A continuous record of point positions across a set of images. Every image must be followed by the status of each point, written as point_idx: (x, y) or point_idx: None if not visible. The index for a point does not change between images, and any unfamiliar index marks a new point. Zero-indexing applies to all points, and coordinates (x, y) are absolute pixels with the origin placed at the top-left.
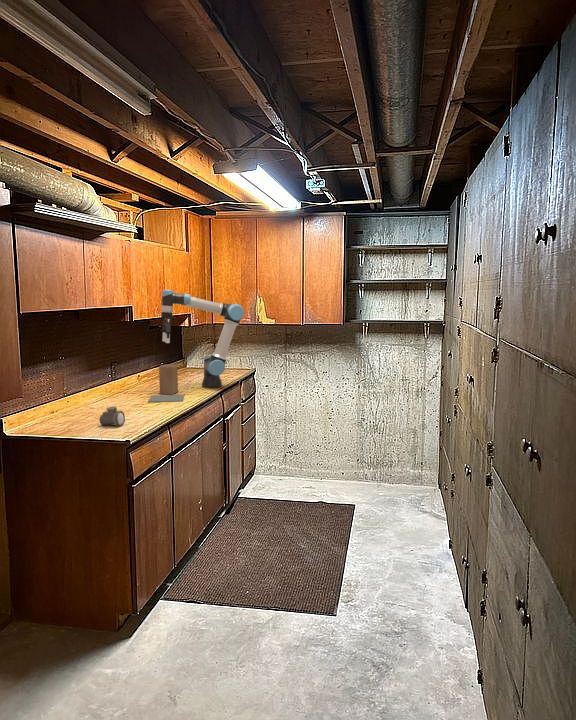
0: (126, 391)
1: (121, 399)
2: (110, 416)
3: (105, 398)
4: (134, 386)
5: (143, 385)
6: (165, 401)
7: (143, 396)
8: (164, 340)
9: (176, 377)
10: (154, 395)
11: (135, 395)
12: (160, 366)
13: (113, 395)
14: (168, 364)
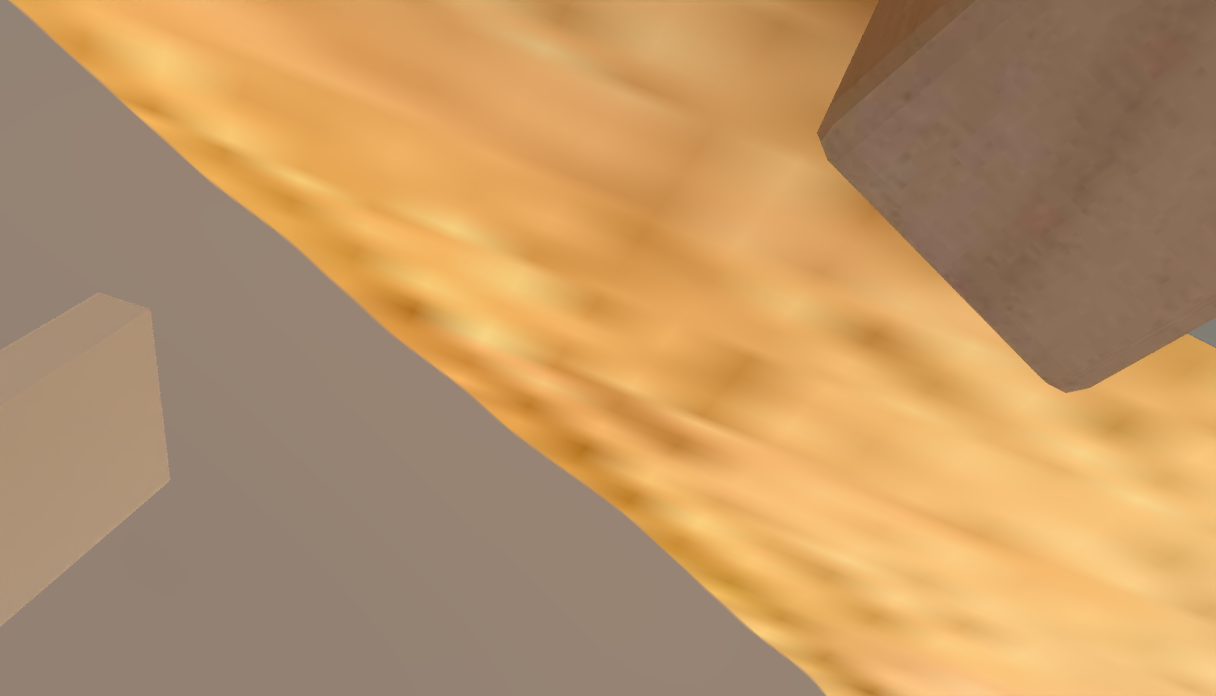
0: (550, 378)
1: (1066, 631)
2: None
3: (878, 690)
4: (223, 164)
5: (172, 34)
6: None
7: None
8: (121, 429)
9: None
10: None
11: (902, 421)
12: (1102, 378)
13: (742, 573)
14: (970, 97)
